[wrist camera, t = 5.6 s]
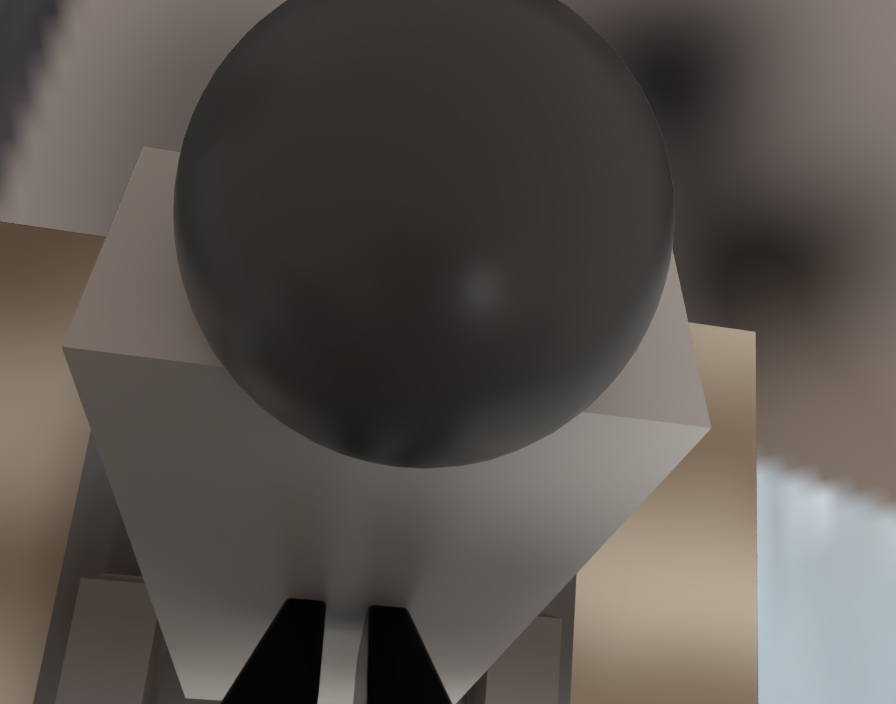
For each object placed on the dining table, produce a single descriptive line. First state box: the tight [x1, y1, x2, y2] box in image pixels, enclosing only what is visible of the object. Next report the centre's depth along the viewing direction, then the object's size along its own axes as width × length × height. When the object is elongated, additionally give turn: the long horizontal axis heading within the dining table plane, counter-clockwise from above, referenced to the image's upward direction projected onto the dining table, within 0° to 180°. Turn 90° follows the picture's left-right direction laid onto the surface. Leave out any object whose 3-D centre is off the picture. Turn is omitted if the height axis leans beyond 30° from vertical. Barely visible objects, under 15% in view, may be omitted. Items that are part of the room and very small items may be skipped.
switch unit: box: [0, 222, 758, 704], centre depth 14 cm, size 16×20×5 cm
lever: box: [62, 0, 711, 704], centre depth 8 cm, size 3×4×11 cm
